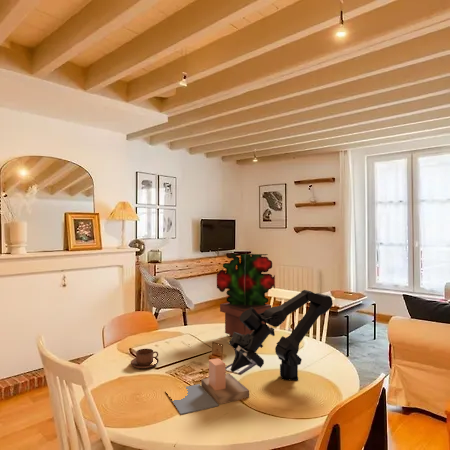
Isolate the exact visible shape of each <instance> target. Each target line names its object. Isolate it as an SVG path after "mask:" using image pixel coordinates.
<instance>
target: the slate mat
mask: <svg viewBox="0 0 450 450" xmlns="http://www.w3.org/2000/svg"><path fill="white" fill-rule="evenodd" d="M185 387H186V389H188V390H187V391H188V393H187V394H188V395H187V396H185V398H183V399H181V400H174V401H171V402H173V403H174V404H173V403H172V404H173V405H175V406H176V407H175V406H174V407H175V409H176V408H177V409H176V410H177V412H178V413H179V414H180V415H187V414H190V413H194V412H199V411H203V410H207V409H211V408H215V407H219V405H220V404H218V403H217V402H216V401H215V400H214V399H213V398H212V397H211V396H210V394H209V393H208V392H207V391H206V390H205V389H204V388H203V387H202V386H201V384H200V383H197V384H193V385H188V386H185Z"/></svg>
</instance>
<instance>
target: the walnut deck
mask: <svg viewBox="0 0 450 450" xmlns="http://www.w3.org/2000/svg"><path fill="white" fill-rule="evenodd" d="M200 381H201V384H200V385H201V386H202V387H203V389H204V390H205V391H206V392H207V393H208V394H209V395H210V396H211V397H212V398H213V399H214V400H215V402H216V403H217V404H218V405H222V404H227V403H230V402H235V401H239V400H240V401H241V400H244V399H247V398H246V397H248V398H250V390H249V388H247V387H246V386H244V385H243V384H242V383H241V382H240V380H238V379H236V378H235V377H234V376H233V375H232V374H231V373H226V388H225V389H221V390H216V391H215V390H214V389H213V388H212V387H211V386H210V385H209V377H205V378H201V380H200ZM243 398H244V399H243Z"/></svg>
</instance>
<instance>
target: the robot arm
mask: <svg viewBox="0 0 450 450" xmlns="http://www.w3.org/2000/svg"><path fill="white" fill-rule="evenodd" d="M308 303H309V307H308V308H309V309H308V310H307V312H306V313H305V314H304V315H303V317H302V318H301V319H300V321H299V322H298V324H297V325H296V326H295V328H293V330H292V331H291V333H290V334H289V335H288V336H286V337H285V336H284V335H283V336H281V337H280V339H279V340H278V341H277V342H276V346H275V348H274V351H275V355H276V356H277V358H278V360H280V361H281V363H280V364H279V376H280V377H281V380H282V379H288V380H287V381H299V377H298V376H299V373H298V372H299V371H298V370H299V369H298V368H299V365H301V363H302V360H303V359H302V358H301V357H300V355H298V353H299V349H300V343H301V342H302V340H303V339H304V338H305V337H306V335H307V334H308V333H309V331H310V329H311V328H312V327H313V325H314V324H315V322H316V321H317V320H318V318H319V317H321V316H322V315H324V314H326V313H327V312H328V311H329V310H330V309H331V308H332V307H333V298H332V297H331V296H329V295H327V294H325V293H324V294H323V293H320V292H319V293H318V292H317V293H314V292H313V291H311V290H307V289H302V290H301V291H300V293H297V294H296V295H294V296H293V297H291V298H289V299H288V300H287V301H285V302H284V303H282V304H281V305H278V306H273V307H272V306H271V308H269V309H267V310H265V311H264V312H263V313H259V314H258V313H257V312H256V310H255V309H254V308H252V307H251V308H250V309H249V310H246V311H245V312H243V313H242V314H241V316H240V321H241V322H242V323H243V324H244V325H245V326H246V327H247V328H248V329H249V330H253V331H252V333H251V334H246V335H245V334H243V335H241V334H239V333H236V332H234V333H233V336H232V337H230V338H231V339H230V340H229V342H228V344H229V345H230V346H231V347H232V348H233V350H234V354H235V355H234V359H233V361H232V363H233V364H232V363H231V364H232V367H231V369H230V370H231V371H232V372H231V373H233V372H234V371H236V370H238V369H240V368H242V367H244V366H246V365H249V364H252V362H251V361H252V360H253V361H254V362H255V363H256V365H255V366H257V367H259V368H262V367H263V366H264V363H265V360H264V358H263V357H261V356H260V355H259V354H258V353H257V351H258V350H259V348H261V349H263V347H264V344H263V343H264V342H265V341H266V339H267V338H268V337H269V336H270V335H271V336H272V337H275V336H276V334H275V328H277V327H279V326H281V325H282V324H283V323H284V322H285V321H286V319H287V317H288V316H289V315H290V314H292V313H293V312H296V310H298V309H301V307H303V306H304V305H306V304H308ZM262 321H263V322H265V323H266V324H263V323H262ZM270 326H272V327H270ZM273 327H274V328H273ZM289 379H290V380H289Z"/></svg>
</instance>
